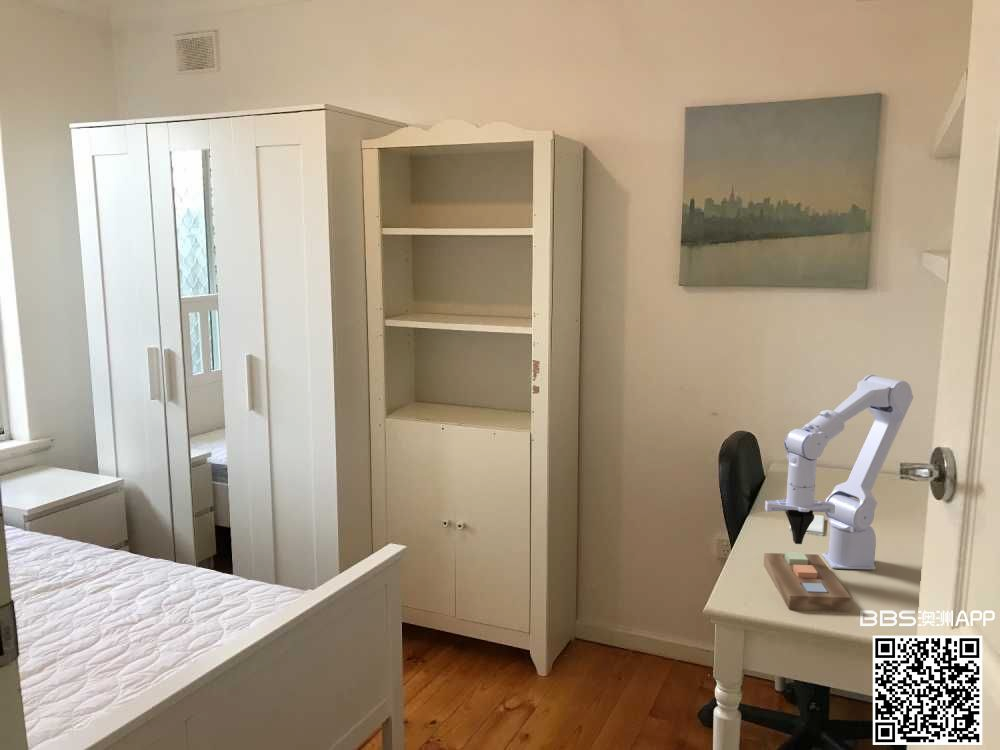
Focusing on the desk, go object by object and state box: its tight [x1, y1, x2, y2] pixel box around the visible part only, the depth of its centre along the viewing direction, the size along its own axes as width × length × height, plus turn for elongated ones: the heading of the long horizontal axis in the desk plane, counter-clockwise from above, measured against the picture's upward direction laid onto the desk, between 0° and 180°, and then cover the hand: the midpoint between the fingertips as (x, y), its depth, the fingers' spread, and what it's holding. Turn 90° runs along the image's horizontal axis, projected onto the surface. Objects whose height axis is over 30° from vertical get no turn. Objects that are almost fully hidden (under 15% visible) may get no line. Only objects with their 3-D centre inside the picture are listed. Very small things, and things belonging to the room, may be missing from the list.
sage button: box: [784, 551, 808, 565], centre depth 181 cm, size 4×4×2 cm
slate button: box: [802, 583, 828, 593], centre depth 168 cm, size 4×4×2 cm
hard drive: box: [788, 514, 825, 535], centre depth 211 cm, size 2×8×12 cm
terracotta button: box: [793, 565, 818, 579], centre depth 174 cm, size 4×4×2 cm
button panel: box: [763, 552, 852, 613], centre depth 175 cm, size 12×22×3 cm, turn 175°
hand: (797, 542), depth 180 cm, fingers closed
